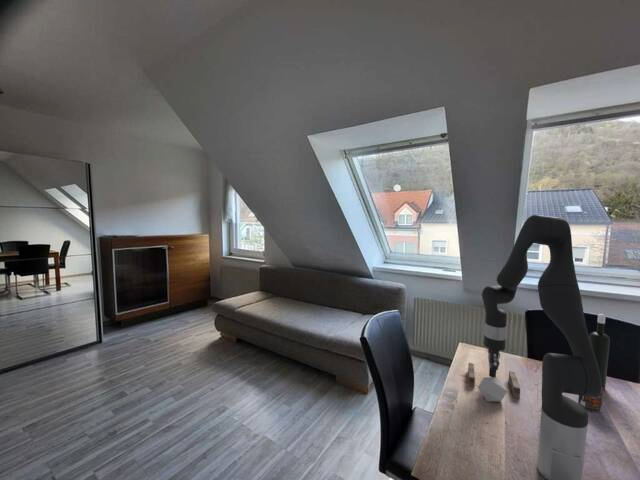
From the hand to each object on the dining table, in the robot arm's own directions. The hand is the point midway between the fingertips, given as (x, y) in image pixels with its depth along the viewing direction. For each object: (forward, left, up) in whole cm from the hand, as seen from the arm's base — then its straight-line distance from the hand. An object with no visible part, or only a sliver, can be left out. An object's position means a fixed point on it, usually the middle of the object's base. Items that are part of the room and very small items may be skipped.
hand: (492, 376), depth 114 cm
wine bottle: (+18, -37, -5) cm, 42 cm away
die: (-9, +1, -5) cm, 10 cm away
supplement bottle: (+1, -30, -5) cm, 31 cm away
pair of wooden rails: (+2, 0, -4) cm, 5 cm away
